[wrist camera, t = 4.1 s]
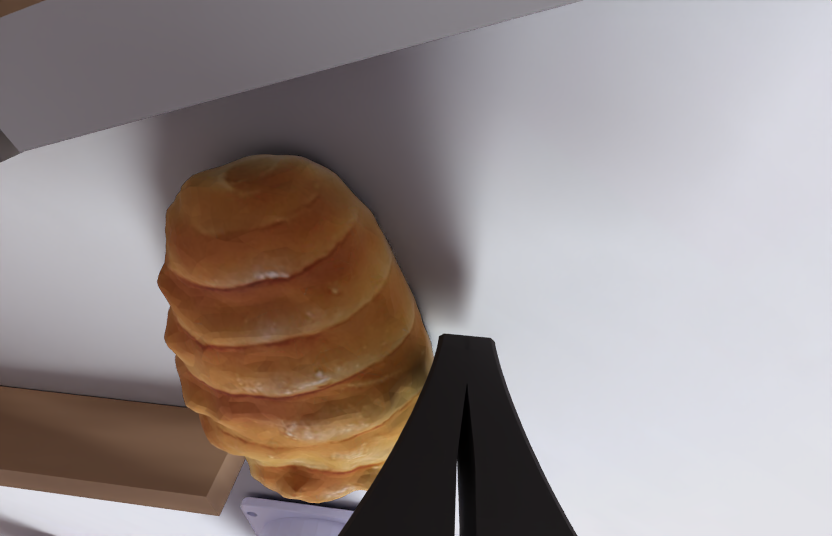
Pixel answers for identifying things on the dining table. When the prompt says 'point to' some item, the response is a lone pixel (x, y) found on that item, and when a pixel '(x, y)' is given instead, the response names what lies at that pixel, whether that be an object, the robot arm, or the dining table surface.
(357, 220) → the pastry
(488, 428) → the robot arm
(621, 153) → the dining table surface
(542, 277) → the dining table surface
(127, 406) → the frame
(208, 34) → the grey flat bar
